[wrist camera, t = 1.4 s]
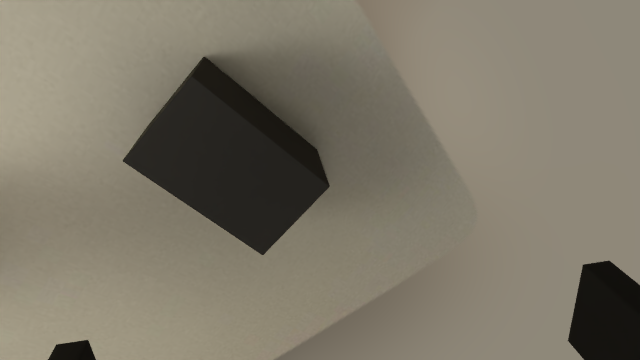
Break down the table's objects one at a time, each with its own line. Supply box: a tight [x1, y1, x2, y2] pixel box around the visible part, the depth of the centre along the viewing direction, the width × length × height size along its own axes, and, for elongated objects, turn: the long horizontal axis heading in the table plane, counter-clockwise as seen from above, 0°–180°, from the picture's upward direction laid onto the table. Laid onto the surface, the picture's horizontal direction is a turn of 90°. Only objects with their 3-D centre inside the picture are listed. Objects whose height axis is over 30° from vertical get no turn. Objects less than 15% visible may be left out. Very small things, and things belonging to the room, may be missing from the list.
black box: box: [123, 57, 329, 255], centre depth 23 cm, size 5×8×5 cm, turn 47°
